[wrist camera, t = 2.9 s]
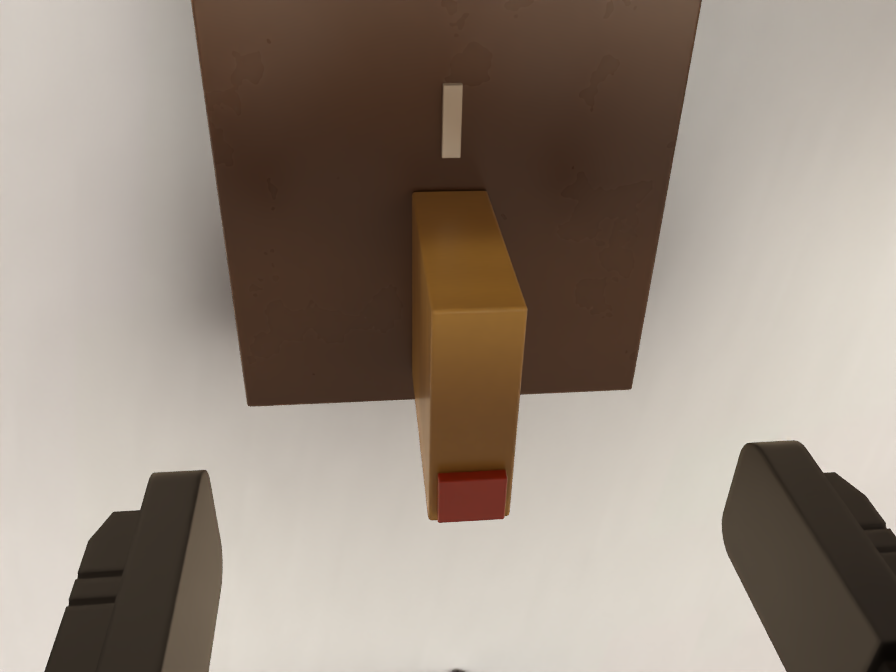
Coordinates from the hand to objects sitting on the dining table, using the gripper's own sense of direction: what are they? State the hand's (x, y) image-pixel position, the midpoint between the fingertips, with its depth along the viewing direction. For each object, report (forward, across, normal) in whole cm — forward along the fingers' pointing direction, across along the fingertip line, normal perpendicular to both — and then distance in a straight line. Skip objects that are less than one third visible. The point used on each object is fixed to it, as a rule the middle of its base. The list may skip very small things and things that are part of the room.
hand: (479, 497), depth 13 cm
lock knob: (+6, 0, 0) cm, 6 cm away
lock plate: (+9, 0, -3) cm, 10 cm away
